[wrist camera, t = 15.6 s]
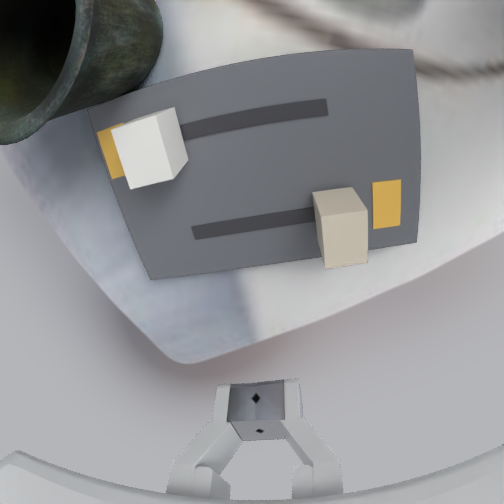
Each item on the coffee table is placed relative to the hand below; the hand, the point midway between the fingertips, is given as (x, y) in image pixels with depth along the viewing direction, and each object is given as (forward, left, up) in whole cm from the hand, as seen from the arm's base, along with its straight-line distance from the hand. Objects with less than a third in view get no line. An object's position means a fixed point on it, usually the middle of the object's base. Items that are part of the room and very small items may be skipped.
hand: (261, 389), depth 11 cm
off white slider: (+6, -7, -15) cm, 18 cm away
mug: (+10, -18, -17) cm, 27 cm away
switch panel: (-1, -3, -17) cm, 17 cm away
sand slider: (-5, +1, -15) cm, 16 cm away
